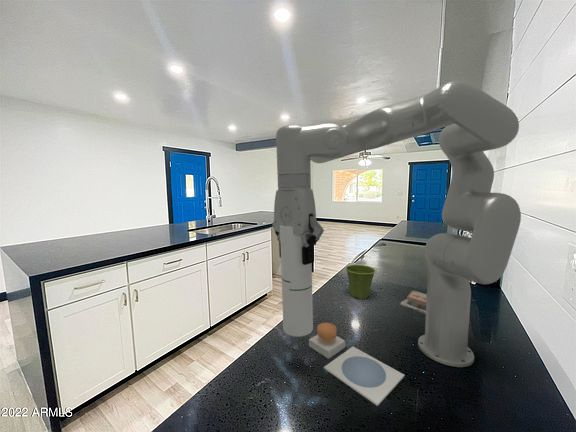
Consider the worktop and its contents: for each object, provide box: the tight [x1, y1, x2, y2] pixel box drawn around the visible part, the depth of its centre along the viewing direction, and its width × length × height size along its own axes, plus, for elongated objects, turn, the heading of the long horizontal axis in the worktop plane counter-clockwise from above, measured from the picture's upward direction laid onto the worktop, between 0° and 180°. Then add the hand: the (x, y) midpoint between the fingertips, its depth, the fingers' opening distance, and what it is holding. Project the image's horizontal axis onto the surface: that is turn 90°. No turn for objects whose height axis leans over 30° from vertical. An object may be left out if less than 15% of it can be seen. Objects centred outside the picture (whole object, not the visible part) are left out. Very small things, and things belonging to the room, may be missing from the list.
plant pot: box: [345, 264, 377, 300], centre depth 101 cm, size 12×12×11 cm
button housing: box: [308, 333, 346, 360], centre depth 68 cm, size 7×7×2 cm
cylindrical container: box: [279, 226, 314, 337], centre depth 58 cm, size 7×7×25 cm
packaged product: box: [399, 290, 427, 315], centre depth 89 cm, size 18×5×10 cm
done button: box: [316, 322, 338, 340], centre depth 67 cm, size 5×5×2 cm
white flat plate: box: [323, 346, 405, 407], centre depth 58 cm, size 12×14×1 cm
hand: (296, 259), depth 58 cm, fingers closed on cylindrical container, 7 cm apart
